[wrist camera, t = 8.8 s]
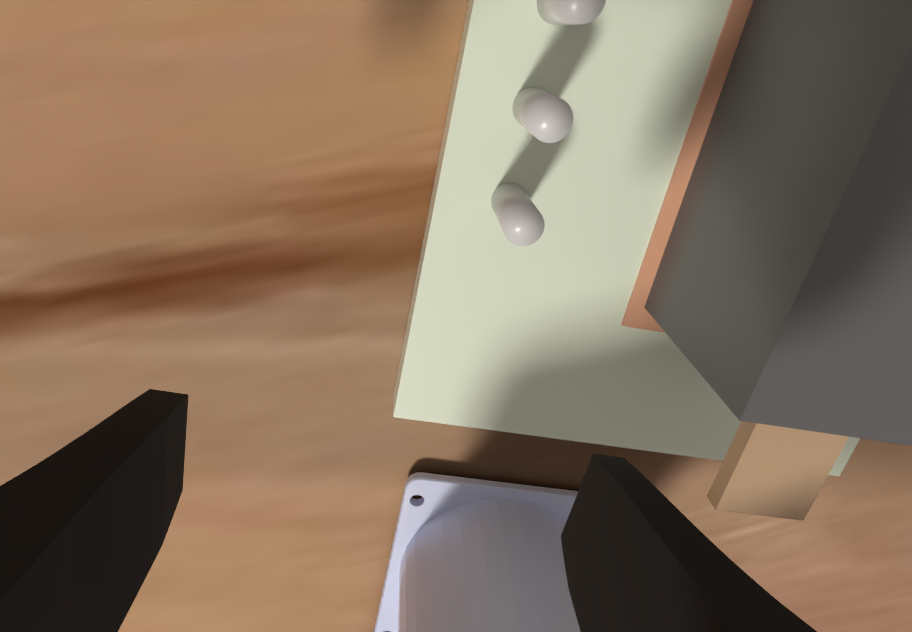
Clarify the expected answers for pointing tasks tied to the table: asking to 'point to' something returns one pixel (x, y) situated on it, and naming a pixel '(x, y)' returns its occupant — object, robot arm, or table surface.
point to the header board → (568, 225)
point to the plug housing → (800, 247)
